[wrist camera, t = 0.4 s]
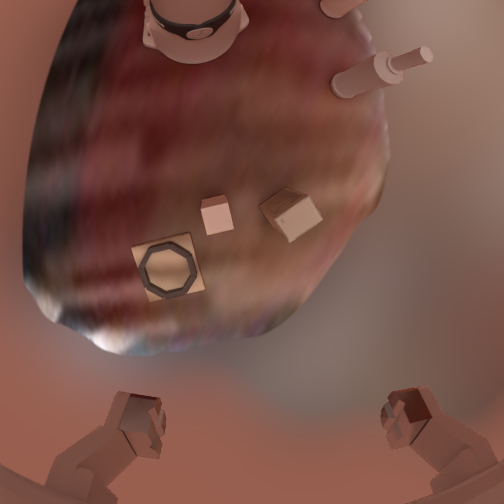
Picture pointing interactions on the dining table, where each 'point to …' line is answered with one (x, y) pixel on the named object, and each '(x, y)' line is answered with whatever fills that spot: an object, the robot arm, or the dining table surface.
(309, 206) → the skincare box
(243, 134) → the dining table surface
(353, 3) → the drinking glass
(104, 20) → the dining table surface
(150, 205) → the dining table surface
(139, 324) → the dining table surface
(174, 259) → the board
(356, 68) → the bottle
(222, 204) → the carton
